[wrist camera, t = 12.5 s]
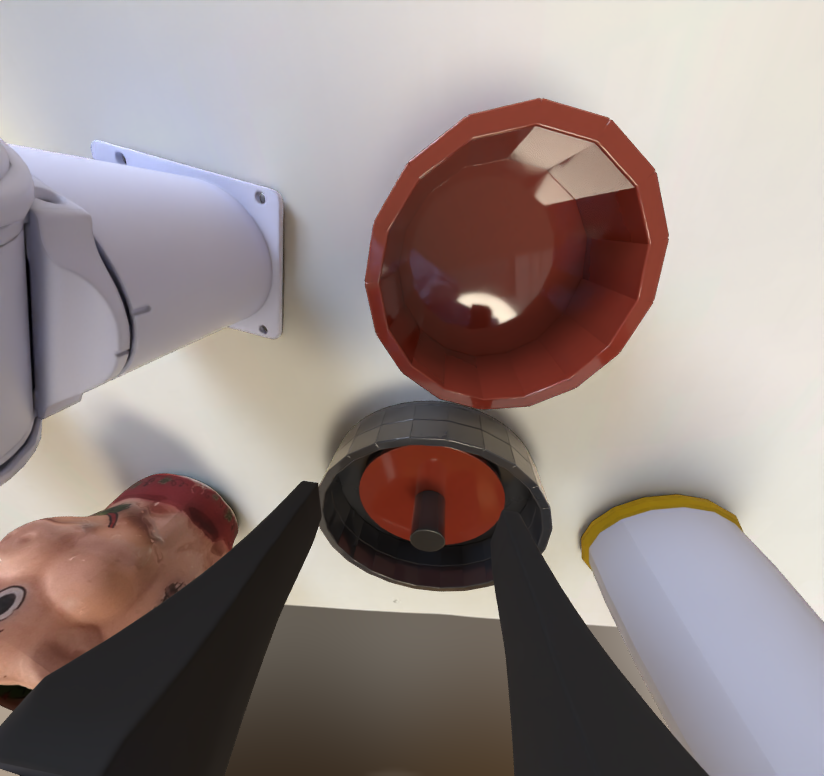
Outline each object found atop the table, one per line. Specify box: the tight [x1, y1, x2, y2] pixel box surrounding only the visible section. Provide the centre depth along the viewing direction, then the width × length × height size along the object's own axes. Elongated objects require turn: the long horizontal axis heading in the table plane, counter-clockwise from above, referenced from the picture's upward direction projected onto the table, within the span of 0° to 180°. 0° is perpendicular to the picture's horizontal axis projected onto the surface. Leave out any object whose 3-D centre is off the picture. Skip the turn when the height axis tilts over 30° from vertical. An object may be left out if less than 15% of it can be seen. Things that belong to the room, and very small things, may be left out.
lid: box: [359, 445, 505, 552], centre depth 21 cm, size 11×11×4 cm
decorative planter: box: [0, 474, 238, 711], centre depth 23 cm, size 20×12×14 cm, turn 13°
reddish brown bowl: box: [365, 98, 669, 410], centre depth 13 cm, size 10×10×5 cm
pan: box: [319, 401, 552, 591], centre depth 22 cm, size 16×16×4 cm
